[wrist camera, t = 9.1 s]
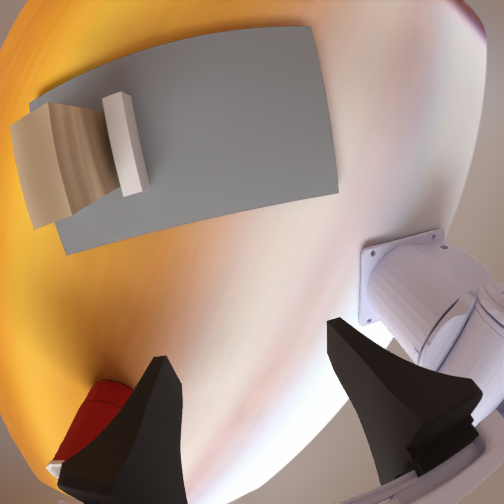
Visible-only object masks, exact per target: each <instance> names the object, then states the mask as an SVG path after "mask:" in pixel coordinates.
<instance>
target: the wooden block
mask: <svg viewBox="0 0 504 504" xmlns="http://www.w3.org/2000/svg"><path fill="white" fill-rule="evenodd" d="M10 129H11V136H12V143H13V149H14V155H15V160H16V165H17V170H18V175H19V179H20V183H21V187H22V191H23V195H24V199H25V202H26V206H27V209H28V212H29V216H30V219H31V222H32V225H33V228H34V230H35V229H38V228H40V227H43V226H45V225H48V224H50V223H53V222H56V221H58V220H61V219H64V218H66V217H69V216H72V215H74V214H75V213H77V212H78V211H80V210H82V209H83V208H85V207H86V206H88V205H90V204H91V203H93V202H95V201H96V200H98V199H100V198H101V197H103V196H105V195H106V194H108V193H110V192H112V191H113V190H115V189H117V188H119V187H121V186H120V182H119V178H118V174H117V170H116V166H115V162H114V157H113V153H112V148H111V144H110V139H109V134H108V129H107V124H106V118H105V113H104V112H102V111H97V110H92V109H87V108H81V107H76V106H70V105H64V104H57V103H50V102H47V103H46V104H44V105H42V106H40V107H39V108H37V109H35V110H34V111H32V112H31V113H29V114H27V115H26V116H24V117H23V118H21V119H20V120H18V121H17V122H15V123H14V124H12V125H11V126H10Z"/></svg>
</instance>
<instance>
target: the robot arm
mask: <svg viewBox="0 0 504 504" xmlns="http://www.w3.org/2000/svg"><path fill="white" fill-rule="evenodd" d="M443 235H444V232H443V230H441V229H436V230H432V231H429V232H425V233H421V234H417V235H414V236H410V237H406V238H402V239H398V240H394V241H390V242H386V243H383V244H379V245H375V246H371V247H367V248H364V249H363V250H362V252H361V285H360V308H359V324H360V325H361V326H365V325H368V324H371V323H374V322H377V321H380V320H381V321H382V322H383V324H384V325H385V326H386V327H387V329H388V330H389V331H390V332H391V333H392V335H393V336H394V337H395V338H396V339H397V341H398V342H399V343H400V345H401V346H402V347H403V349H404V350H405V351H406V352H407V354H408V355H409V356H410V358H411V359H412V360H413V361H414V363H415V364H413V363H411V362H409V361H406V360H404V359H402V358H400V357H398V356H396V355H394V354H393V353H390V352H389V351H387V350H386V349H384V348H382V347H381V346H379V345H378V344H376V343H375V342H373V341H372V340H370V339H369V338H367V337H366V336H364V335H363V334H362V333H360V332H359V331H357V330H356V329H355V328H353V327H352V326H351V325H349V324H348V323H347V322H346V321H344V320H343V319H342V318H340V317H339V318H335V319H332V320H329V321H327V354H328V356H329V359H330V361H331V364H332V366H333V369H334V371H335V373H336V375H337V377H338V379H339V381H340V382H341V384H342V386H343V388H344V390H345V391H346V393H347V395H348V397H349V399H350V400H351V402H352V404H353V406H354V408H355V410H356V412H357V414H358V417H359V419H360V422H361V424H362V427H363V429H364V432H365V434H366V437H367V440H368V443H369V446H370V449H371V452H372V455H373V458H374V462H375V465H376V469H377V472H378V476H379V480H380V484H381V486H380V487H378V488H376V489H373V490H371V491H368V492H366V493H363V494H361V495H358V496H356V497H353V498H350V499H347V500H344V501H341V502H339V503H335V504H378V503H380V502H382V501H385V500H387V499H389V498H390V499H389V500H388V501H387V502H385V503H383V504H456V503H457V502H459V501H460V500H461V499H463V498H464V497H465V496H467V495H468V494H469V493H470V492H471V491H473V490H474V489H475V488H476V487H477V486H478V485H480V484H481V483H482V482H483V481H484V480H485V479H486V478H488V476H490V475H491V474H492V473H493V472H494V471H495V470H496V469H497V468H498V467H499V466H500V465H501V464H502V463H503V462H504V283H501V282H498V281H493V278H492V276H491V274H490V273H489V271H488V270H487V268H486V267H485V266H484V265H483V264H481V263H480V262H478V261H477V260H475V259H474V258H472V257H470V256H469V255H468V254H466V253H464V252H462V251H461V250H459V249H458V248H456V247H454V246H453V245H451V244H449V243H448V242H446V241H444V240H443ZM432 236H433V237H432ZM372 251H374V252H373V254H371V252H372ZM368 319H369V320H368ZM182 407H183V399H182V384H181V382H180V380H179V378H178V377H177V375H176V373H175V371H174V369H173V367H172V366H171V364H170V362H169V360H168V358H167V356H159V357H154V358H153V359H152V361H151V363H150V364H149V366H148V367H147V369H146V371H145V373H144V374H143V376H142V378H141V379H140V381H139V383H138V384H137V386H136V387H135V389H134V391H133V392H132V394H131V395H130V397H129V398H128V400H127V401H126V403H125V404H124V406H123V407H122V408H121V410H120V411H119V412H118V414H117V415H116V416H115V417H114V419H113V420H112V421H111V422H110V423H109V424H108V426H107V427H106V428H105V429H104V430H103V431H102V432H101V433H100V434H99V435H98V436H97V437H96V438H95V439H94V440H92V441H91V442H90V443H89V444H88V445H87V446H85V447H84V448H83V449H82V450H80V451H79V452H78V453H76V454H75V455H73V456H72V457H70V458H69V459H67V460H66V461H64V462H62V465H61V469H60V474H59V479H58V483H57V485H58V487H59V489H61V490H62V491H63V492H65V493H67V494H68V495H70V496H72V497H74V498H76V499H78V500H79V501H81V502H83V503H84V504H188V503H187V498H186V493H185V487H184V481H183V473H182V465H181V453H180V440H181V423H182ZM58 504H72V503H68V502H65V501H62V500H59V501H58Z"/></svg>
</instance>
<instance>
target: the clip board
mask: <svg viewBox="0 0 504 504" xmlns="http://www.w3.org/2000/svg"><path fill="white" fill-rule="evenodd" d="M47 102H50V103H57V104H64V105H70V106H76V107H81V108H87V109H92V110H97V111H102V112H104V113H105V118H106V124H107V129H108V134H109V139H110V144H111V148H112V153H113V157H114V162H115V166H116V170H117V174H118V178H119V182H120V186H121V187H119V188H117V189H115V190H113V191H112V192H110V193H108V194H106V195H105V196H103V197H101V198H100V199H98V200H96V201H95V202H93V203H91V204H90V205H88V206H86V207H85V208H83V209H82V210H80V211H78V212H77V213H75V214H74V215H72V216H69V217H66V218H64V219H61V220H58V221H56V222H55V225H56V228H57V231H58V234H59V236H60V239H61V242H62V245H63V247H64V250H65V252H66V255H71V254H74V253H77V252H81V251H84V250H88V249H91V248H95V247H98V246H102V245H106V244H109V243H113V242H117V241H120V240H124V239H128V238H132V237H136V236H139V235H143V234H147V233H151V232H155V231H159V230H163V229H167V228H171V227H176V226H180V225H184V224H188V223H192V222H197V221H201V220H206V219H210V218H214V217H219V216H223V215H228V214H233V213H237V212H242V211H247V210H252V209H256V208H261V207H266V206H271V205H276V204H282V203H287V202H292V201H297V200H303V199H308V198H314V197H319V196H325V195H331V194H336V193H339V189H338V179H337V169H336V161H335V152H334V145H333V137H332V130H331V124H330V117H329V111H328V105H327V100H326V94H325V89H324V84H323V79H322V74H321V69H320V64H319V60H318V55H317V51H316V47H315V43H314V39H313V35H312V31H311V27H310V26H283V27H262V28H250V29H240V30H232V31H225V32H218V33H212V34H206V35H201V36H196V37H191V38H187V39H182V40H178V41H174V42H170V43H166V44H162V45H159V46H155V47H152V48H149V49H145V50H142V51H139V52H136V53H133V54H130V55H127V56H124V57H122V58H119V59H116V60H114V61H111V62H109V63H106V64H104V65H101V66H99V67H97V68H94V69H92V70H90V71H88V72H85V73H83V74H81V75H79V76H77V77H75V78H73V79H71V80H69V81H67V82H65V83H63V84H61V85H59V86H57V87H56V88H54V89H52V90H50V91H48V92H47V93H45V94H43V95H42V96H40V97H38V98H37V99H35V100H33V101H32V102H30V103H29V106H30V113H31V112H32V111H34V110H35V109H37V108H39V107H40V106H42V105H44V104H46V103H47Z"/></svg>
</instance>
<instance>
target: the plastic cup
mask: <svg viewBox="0 0 504 504" xmlns="http://www.w3.org/2000/svg"><path fill="white" fill-rule="evenodd" d="M132 392H133V390H132V389H131V388H129V387H127V386H125V385H123V384H122V383H118V382H114V381H107V380H102V381H99V382H96V383H95V385H94V386H93V387H92V388H91V390H90V391H89V393H88V395H87V397H86V399H85V401H84V402H83V403H82V405H81V406H80V408H79V410H78V412H77V414H76V416H75V418H74V420H73V422H72V424H71V426H70V428H69V430H68V432H67V434H66V436H65V438H64V440H63V442H62V443H61V445H60V447H59V449H58V451H57V453H56V455H55V457H54V458H53V460H51V461H50V462H49V464H48V465H47V467H46V468H47V469H48V471H49V472H50V473H51V474H52V475H54V476H55V477H57V478H58V479H59V474H60V469H61V465H62V462H64V461H66V460H67V459H69V458H70V457H72V456H73V455H75V454H76V453H78V452H79V451H80V450H82V449H83V448H84V447H85V446H87V445H88V444H89V443H90V442H91V441H92V440H94V439H95V438H96V437H97V436H98V435H99V434H100V433H101V432H102V431H103V430H104V429H105V428H106V427H107V426H108V424H109V423H110V422H111V421H112V420H113V419H114V417H115V416H116V415H117V414H118V412H119V411H120V410H121V408H122V407H123V406H124V404H125V403H126V401H127V400H128V398H129V397H130V395H131V394H132Z"/></svg>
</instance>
